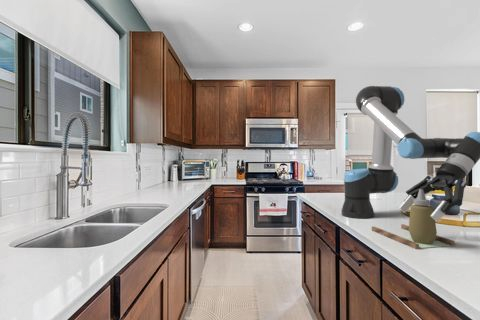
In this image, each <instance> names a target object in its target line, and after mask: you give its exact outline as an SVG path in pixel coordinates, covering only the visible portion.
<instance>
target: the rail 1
mask: <svg viewBox="0 0 480 320" xmlns="http://www.w3.org/2000/svg"><path fill="white" fill-rule="evenodd" d="M371 231H372V232H374V233H377V234H380V235H382V236H384V237H386V238H389V239H391V240H393V241H396V242H398V243H401V244H403V245H405V246H407V245H408V247H410V248H412V249H414V248H415V250H416V249H417V250H419V249H420V248H419V244H417V243H415V242H412V241H410V240H407V239H405V238H406V237H402V236H399V235H397V234H394V233H392V232H389V231H387V230H384V229H381V228H380V227H376V226H371Z"/></svg>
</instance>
